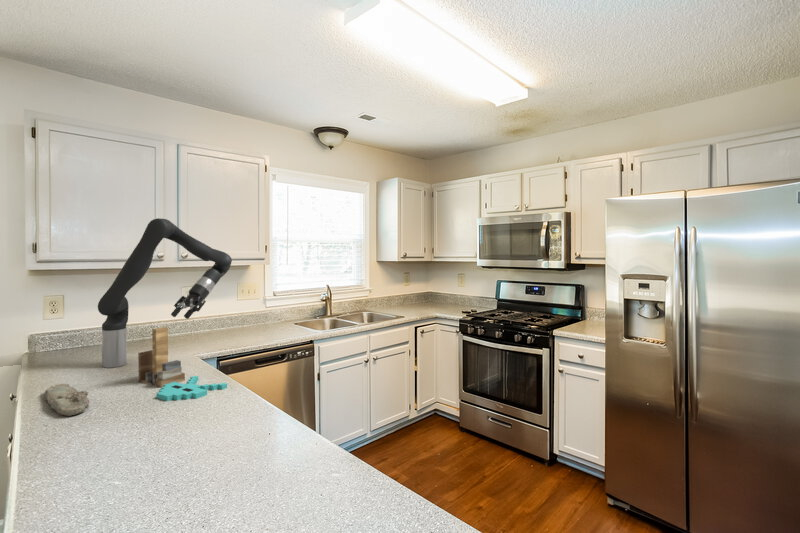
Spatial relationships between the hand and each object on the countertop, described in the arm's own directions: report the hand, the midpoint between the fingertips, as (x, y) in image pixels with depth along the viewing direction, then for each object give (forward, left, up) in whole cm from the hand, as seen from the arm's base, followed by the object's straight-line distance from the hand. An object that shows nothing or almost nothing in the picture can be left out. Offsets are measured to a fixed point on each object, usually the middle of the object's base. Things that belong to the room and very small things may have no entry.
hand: (179, 316), depth 172 cm
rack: (-2, -9, -26) cm, 27 cm away
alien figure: (+21, -12, -26) cm, 36 cm away
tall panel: (0, -9, -26) cm, 27 cm away
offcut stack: (+7, -9, -26) cm, 28 cm away
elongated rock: (-7, -39, -26) cm, 47 cm away
